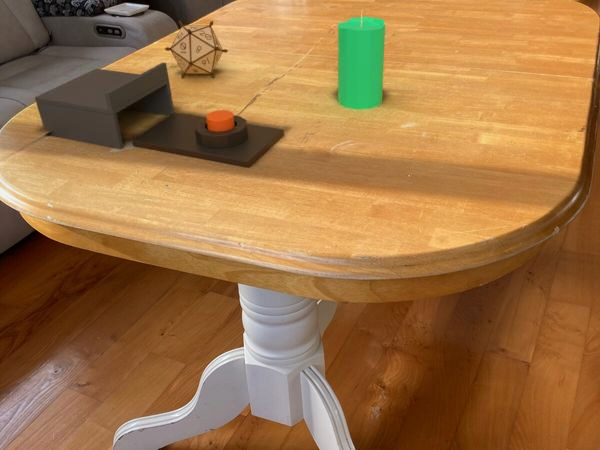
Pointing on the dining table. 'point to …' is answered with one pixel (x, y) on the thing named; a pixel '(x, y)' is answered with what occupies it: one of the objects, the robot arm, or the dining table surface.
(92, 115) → the cover
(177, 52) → the game die
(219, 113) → the orange button cap
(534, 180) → the dining table surface
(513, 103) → the dining table surface
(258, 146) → the dark grey button base
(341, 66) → the candle
